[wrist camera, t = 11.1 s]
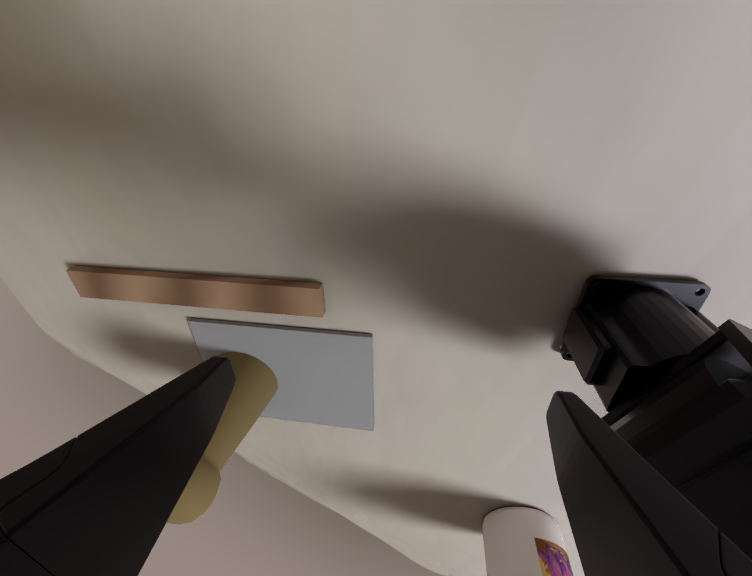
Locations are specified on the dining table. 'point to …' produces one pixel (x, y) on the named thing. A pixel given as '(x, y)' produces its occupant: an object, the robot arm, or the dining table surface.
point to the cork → (227, 433)
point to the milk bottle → (524, 544)
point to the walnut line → (200, 290)
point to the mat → (302, 369)
